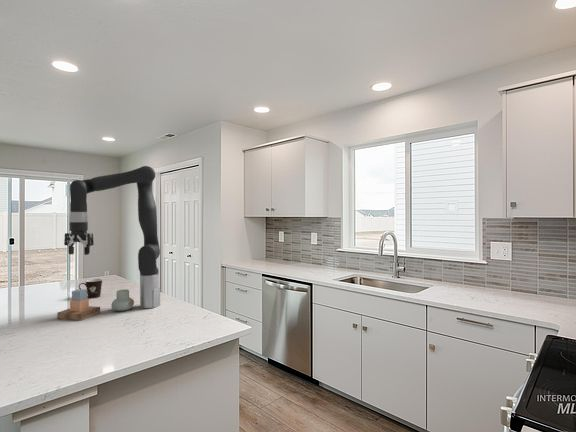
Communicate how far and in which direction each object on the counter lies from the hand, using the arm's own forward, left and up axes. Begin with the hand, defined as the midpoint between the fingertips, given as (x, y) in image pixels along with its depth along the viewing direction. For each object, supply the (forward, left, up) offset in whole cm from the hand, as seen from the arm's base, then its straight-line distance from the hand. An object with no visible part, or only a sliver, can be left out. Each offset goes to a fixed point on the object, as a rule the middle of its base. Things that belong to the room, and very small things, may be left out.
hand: (79, 254), depth 160 cm
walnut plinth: (0, 0, -30) cm, 30 cm away
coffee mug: (+22, -33, -30) cm, 50 cm away
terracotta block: (0, 0, -27) cm, 27 cm away
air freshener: (-14, -13, -30) cm, 36 cm away
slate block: (0, 0, -22) cm, 22 cm away
